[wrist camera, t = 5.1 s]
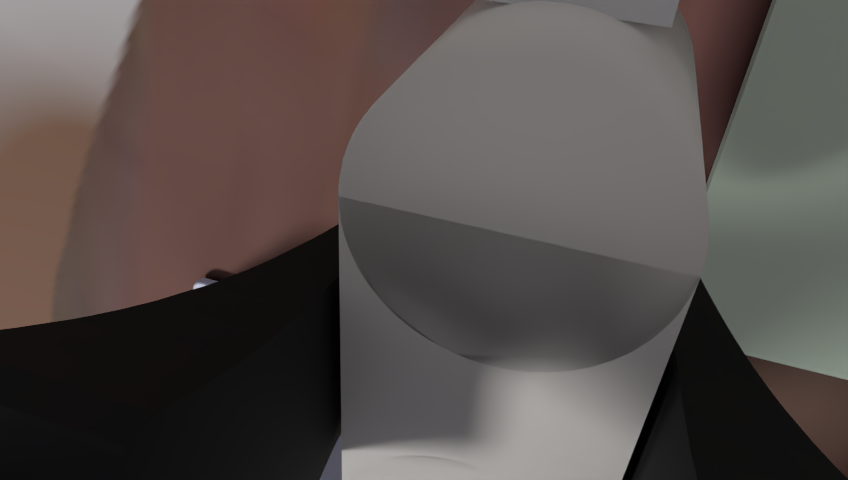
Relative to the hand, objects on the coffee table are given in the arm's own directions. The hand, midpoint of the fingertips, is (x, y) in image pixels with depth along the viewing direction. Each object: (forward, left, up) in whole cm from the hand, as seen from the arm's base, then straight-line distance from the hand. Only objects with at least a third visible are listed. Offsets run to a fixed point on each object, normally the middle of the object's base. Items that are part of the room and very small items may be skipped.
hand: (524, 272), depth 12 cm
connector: (0, +1, -1) cm, 2 cm away
